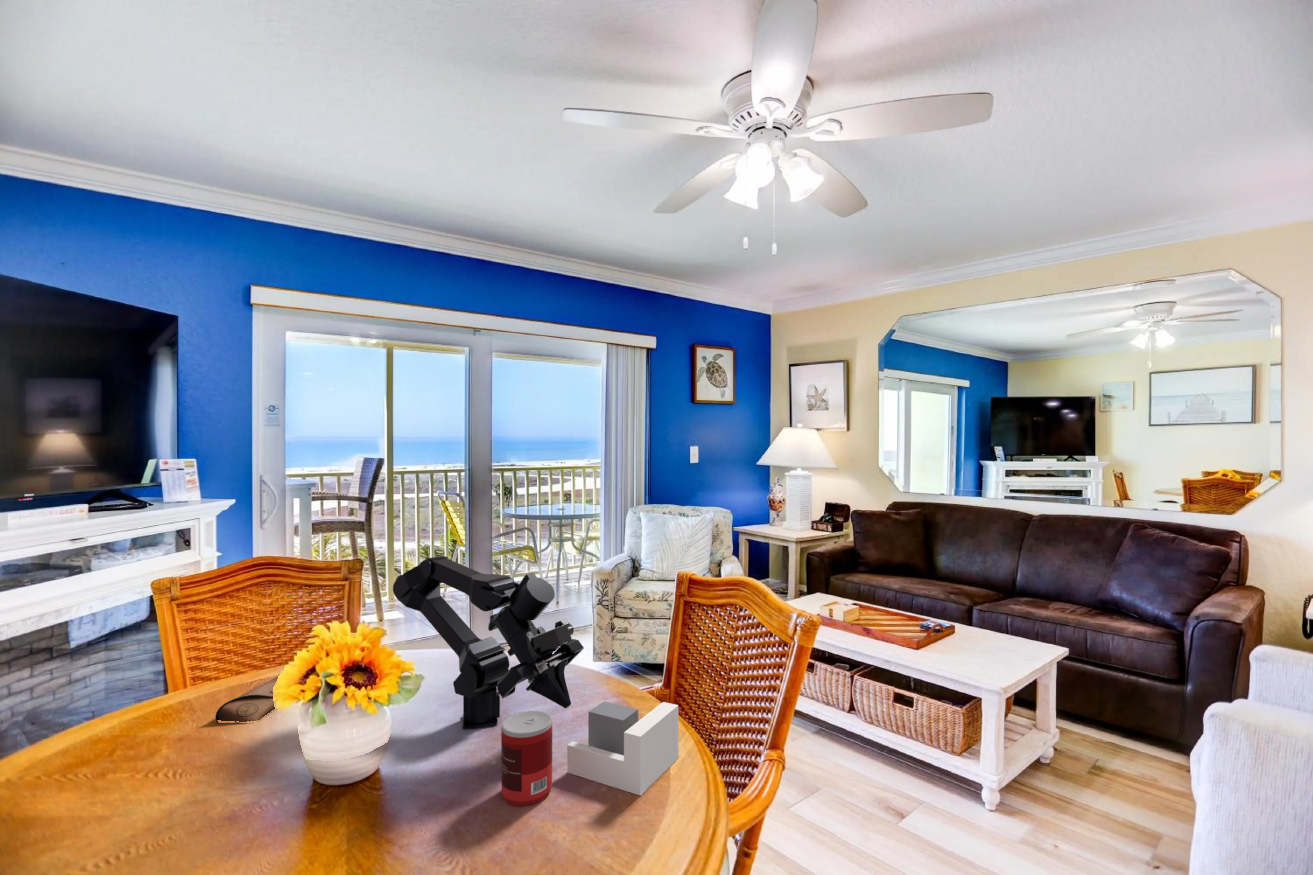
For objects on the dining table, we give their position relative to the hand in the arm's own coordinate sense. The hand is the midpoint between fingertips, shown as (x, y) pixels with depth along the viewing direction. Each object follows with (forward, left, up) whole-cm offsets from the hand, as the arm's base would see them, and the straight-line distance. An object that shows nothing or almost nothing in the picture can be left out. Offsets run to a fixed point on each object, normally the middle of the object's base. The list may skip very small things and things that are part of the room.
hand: (568, 706), depth 108 cm
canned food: (-8, -12, -8) cm, 16 cm away
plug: (+8, -8, -7) cm, 13 cm away
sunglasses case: (-58, +37, -8) cm, 69 cm away
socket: (+8, -8, -7) cm, 13 cm away
